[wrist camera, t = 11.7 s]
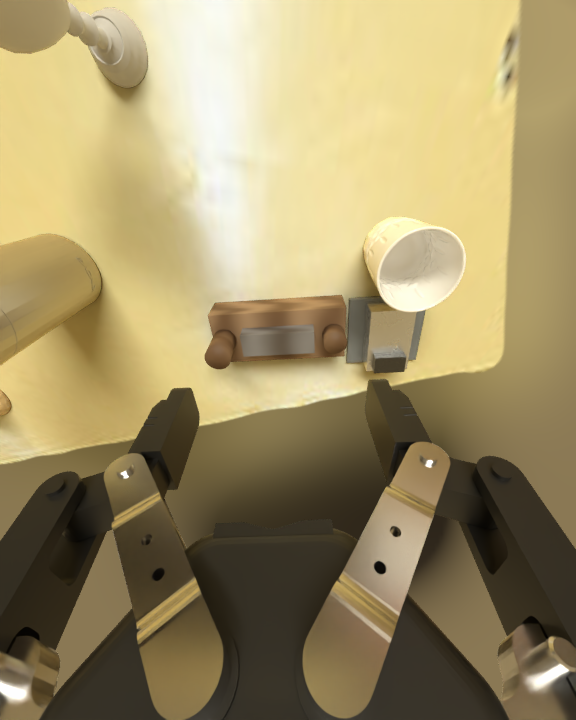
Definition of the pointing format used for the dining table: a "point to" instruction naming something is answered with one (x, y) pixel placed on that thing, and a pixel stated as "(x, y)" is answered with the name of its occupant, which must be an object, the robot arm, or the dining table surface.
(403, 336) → the lever cap
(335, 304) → the plane body
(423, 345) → the dining table surface
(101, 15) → the chalice
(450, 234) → the white cup
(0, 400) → the hand bell
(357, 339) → the slate mat
